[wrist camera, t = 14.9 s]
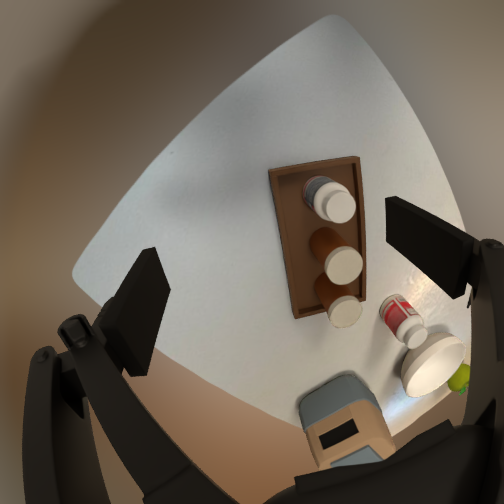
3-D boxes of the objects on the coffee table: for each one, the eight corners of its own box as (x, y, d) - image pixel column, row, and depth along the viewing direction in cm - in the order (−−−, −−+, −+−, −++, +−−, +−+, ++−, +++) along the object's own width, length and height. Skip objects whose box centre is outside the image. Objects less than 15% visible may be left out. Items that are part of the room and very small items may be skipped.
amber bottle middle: (306, 229, 43) (325, 254, 35) (337, 223, 43) (362, 245, 35) (310, 259, 45) (328, 288, 37) (340, 252, 45) (363, 279, 37)
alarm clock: (348, 363, 58) (385, 446, 36) (373, 388, 64) (405, 456, 42) (289, 399, 61) (308, 481, 40) (322, 418, 67) (343, 486, 46)
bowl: (394, 384, 65) (407, 407, 57) (387, 347, 57) (403, 372, 49) (447, 351, 62) (462, 370, 54) (449, 308, 55) (469, 328, 47)
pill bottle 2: (379, 322, 53) (403, 357, 43) (378, 300, 51) (404, 335, 41) (403, 311, 53) (429, 343, 43) (403, 289, 50) (432, 320, 40)
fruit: (467, 357, 66) (482, 376, 57) (450, 378, 70) (464, 397, 61) (455, 356, 64) (471, 377, 55) (437, 378, 68) (451, 399, 59)
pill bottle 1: (296, 200, 41) (313, 218, 33) (311, 169, 39) (332, 179, 31) (325, 214, 42) (348, 234, 34) (340, 184, 40) (367, 198, 32)
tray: (268, 169, 39) (270, 171, 37) (354, 155, 39) (359, 157, 37) (292, 312, 50) (295, 319, 48) (361, 294, 50) (365, 300, 48)
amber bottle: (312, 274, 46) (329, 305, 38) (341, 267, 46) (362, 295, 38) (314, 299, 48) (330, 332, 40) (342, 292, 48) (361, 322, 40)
